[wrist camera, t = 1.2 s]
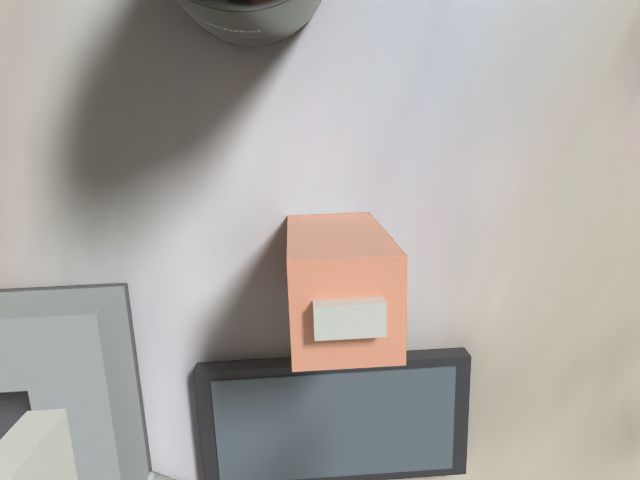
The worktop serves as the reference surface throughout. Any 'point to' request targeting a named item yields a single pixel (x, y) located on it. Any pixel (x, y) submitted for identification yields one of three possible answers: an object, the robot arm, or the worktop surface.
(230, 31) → the supplement bottle
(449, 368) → the phone
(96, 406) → the outlet plate
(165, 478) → the cable
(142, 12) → the worktop surface
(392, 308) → the block
